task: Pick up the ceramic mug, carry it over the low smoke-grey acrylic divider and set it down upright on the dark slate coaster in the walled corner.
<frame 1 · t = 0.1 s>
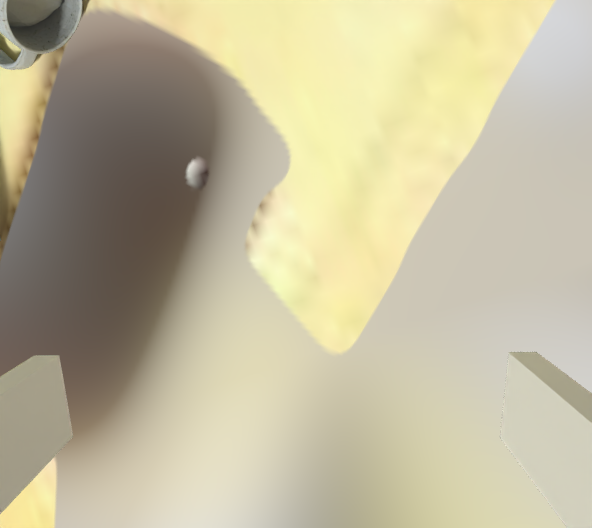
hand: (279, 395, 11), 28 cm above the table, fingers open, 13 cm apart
ceramic mug: (37, 18, 35), on the table
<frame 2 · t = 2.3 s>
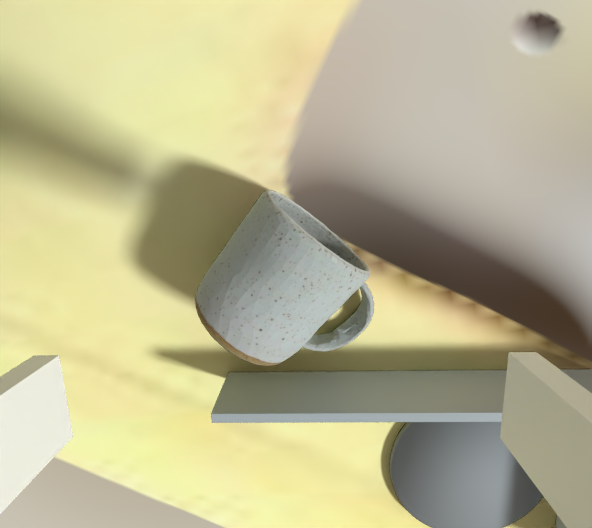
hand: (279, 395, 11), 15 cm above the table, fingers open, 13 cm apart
slate coaster: (468, 463, 28), on the table
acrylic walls: (378, 374, 27), on the table
ceramic mug: (300, 273, 26), on the table
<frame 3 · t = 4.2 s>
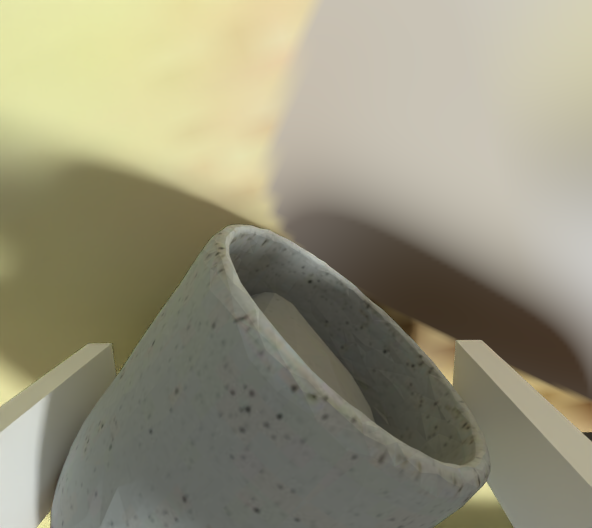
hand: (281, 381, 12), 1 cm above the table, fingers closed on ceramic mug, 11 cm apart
ceramic mug: (307, 375, 13), on the table, touching gripper
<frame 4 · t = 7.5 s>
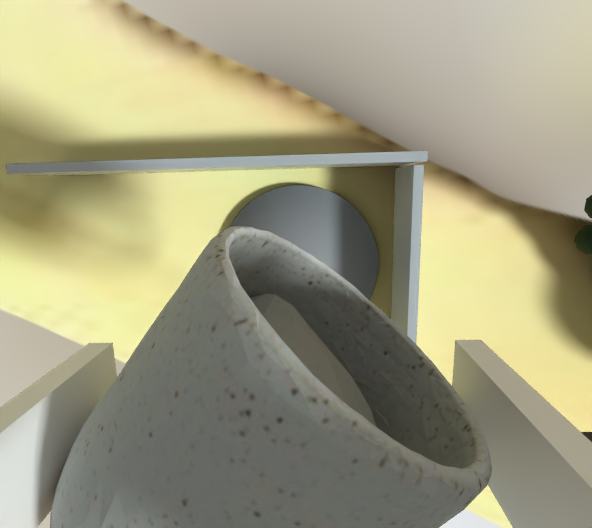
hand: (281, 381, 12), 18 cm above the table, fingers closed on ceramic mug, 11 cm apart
slate coaster: (299, 263, 29), on the table
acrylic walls: (202, 167, 28), on the table
ceramic mug: (307, 376, 13), point 16 cm above the table, touching gripper
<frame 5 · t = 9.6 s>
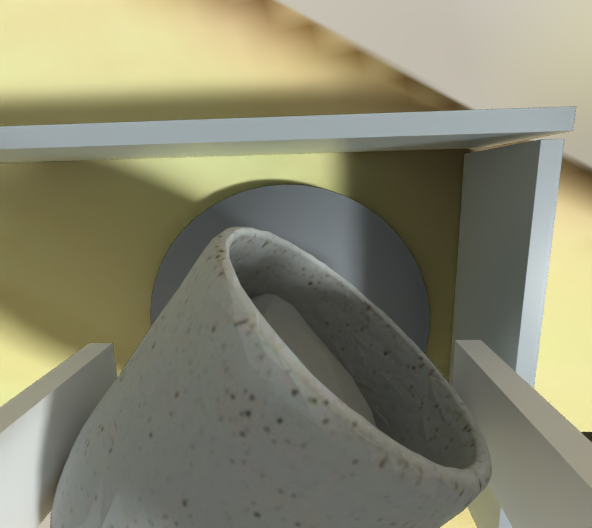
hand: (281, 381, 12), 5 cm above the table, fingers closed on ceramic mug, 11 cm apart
slate coaster: (289, 322, 17), on the table
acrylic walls: (113, 151, 15), on the table
ceramic mug: (308, 377, 13), point 3 cm above the table, touching gripper
when the fingers open (3 cm above the table, at t = 11.0 s): ceramic mug drops 1 cm, resting on slate coaster.
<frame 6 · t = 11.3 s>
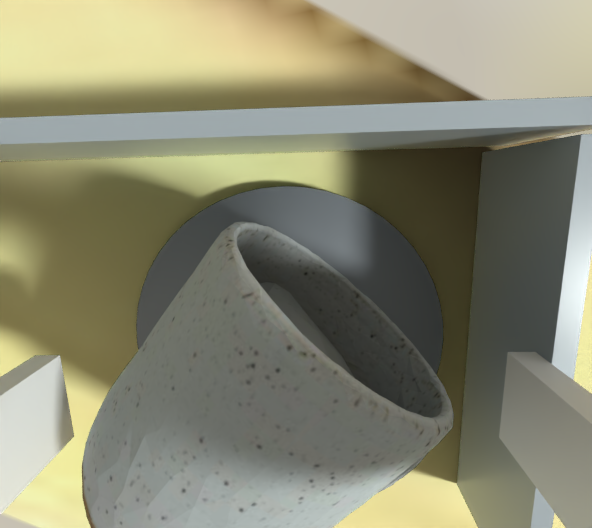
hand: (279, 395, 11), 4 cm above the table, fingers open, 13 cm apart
slate coaster: (288, 336, 15), on the table
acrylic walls: (95, 150, 14), on the table
ceramic mug: (303, 359, 15), resting on slate coaster
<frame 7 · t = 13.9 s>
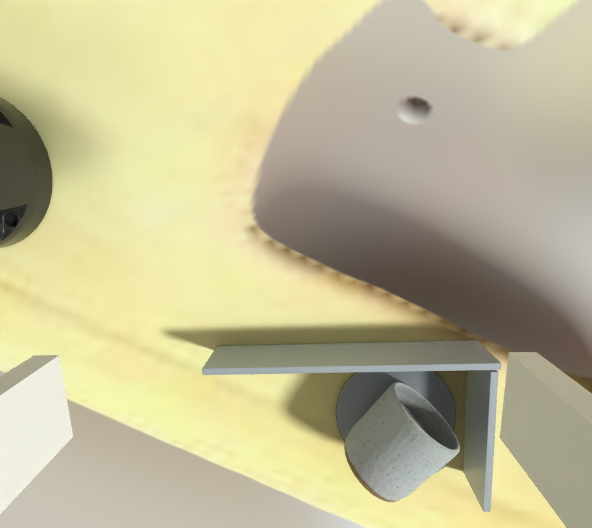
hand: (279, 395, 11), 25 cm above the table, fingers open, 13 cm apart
slate coaster: (394, 412, 38), on the table
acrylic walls: (324, 346, 38), on the table
ceramic mug: (401, 422, 38), resting on slate coaster
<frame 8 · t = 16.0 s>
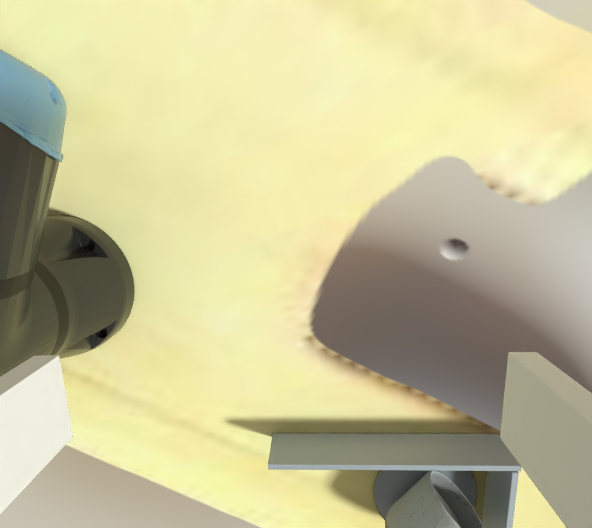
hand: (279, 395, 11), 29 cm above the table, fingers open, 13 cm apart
slate coaster: (423, 490, 45), on the table
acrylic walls: (366, 435, 43), on the table
ceramic mug: (430, 499, 45), resting on slate coaster
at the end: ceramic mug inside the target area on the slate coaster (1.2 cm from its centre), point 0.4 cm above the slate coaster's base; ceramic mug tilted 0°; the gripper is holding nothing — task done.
